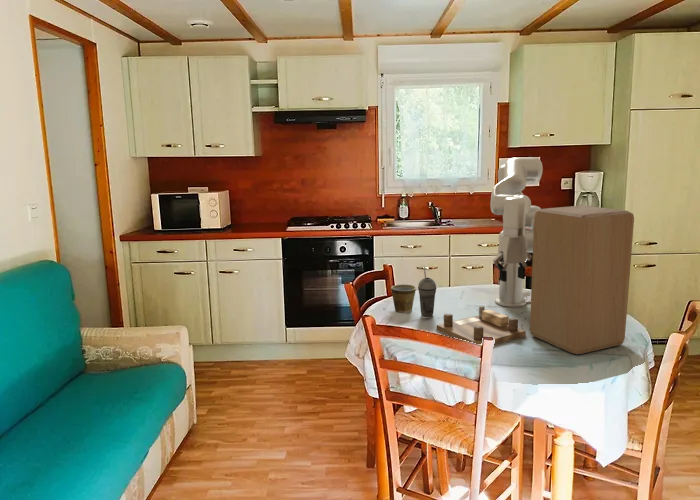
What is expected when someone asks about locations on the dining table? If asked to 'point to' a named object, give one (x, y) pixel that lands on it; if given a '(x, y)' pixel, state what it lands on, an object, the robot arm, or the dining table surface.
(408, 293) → the ceramic cup
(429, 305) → the beverage cup
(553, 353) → the dining table surface
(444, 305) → the dining table surface
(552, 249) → the wooden block
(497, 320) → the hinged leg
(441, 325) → the board
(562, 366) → the dining table surface
